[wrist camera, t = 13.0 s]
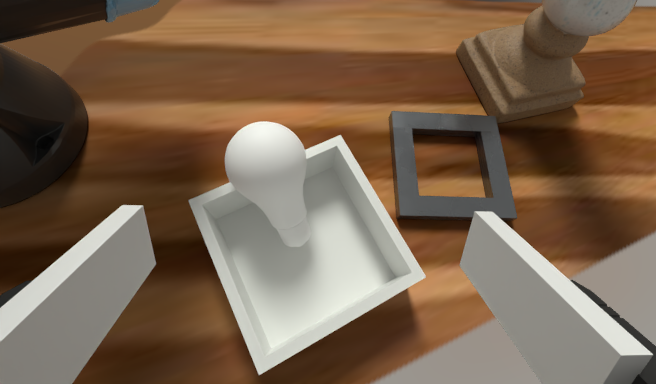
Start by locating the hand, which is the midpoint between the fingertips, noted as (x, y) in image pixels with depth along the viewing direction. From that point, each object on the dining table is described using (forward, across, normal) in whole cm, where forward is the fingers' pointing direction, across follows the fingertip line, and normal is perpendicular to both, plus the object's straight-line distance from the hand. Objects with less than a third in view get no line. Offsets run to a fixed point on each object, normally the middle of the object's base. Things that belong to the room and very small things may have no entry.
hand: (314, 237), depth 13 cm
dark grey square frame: (+19, +14, -4) cm, 24 cm away
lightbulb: (+12, -1, -9) cm, 15 cm away
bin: (+13, 0, -10) cm, 16 cm away
